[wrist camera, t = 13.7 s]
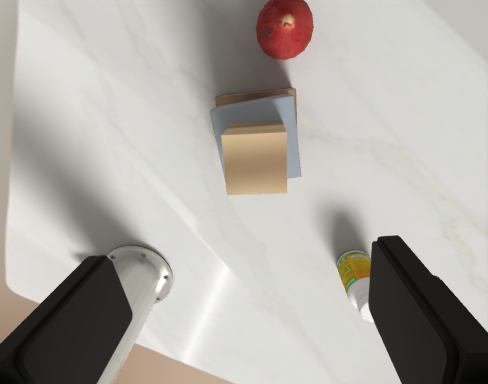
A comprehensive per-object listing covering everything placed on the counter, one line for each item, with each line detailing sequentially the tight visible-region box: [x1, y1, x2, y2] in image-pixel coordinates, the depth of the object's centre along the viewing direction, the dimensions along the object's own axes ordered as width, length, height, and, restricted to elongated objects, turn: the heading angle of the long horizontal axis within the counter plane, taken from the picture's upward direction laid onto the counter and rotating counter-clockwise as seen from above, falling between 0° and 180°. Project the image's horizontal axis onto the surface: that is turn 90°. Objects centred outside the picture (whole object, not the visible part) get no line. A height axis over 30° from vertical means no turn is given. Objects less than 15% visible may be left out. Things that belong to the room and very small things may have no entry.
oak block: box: [221, 121, 287, 195], centre depth 24 cm, size 5×5×6 cm
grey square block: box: [210, 93, 301, 182], centre depth 29 cm, size 8×8×5 cm
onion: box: [256, 0, 313, 60], centre depth 27 cm, size 6×6×8 cm
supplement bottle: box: [337, 250, 374, 322], centre depth 38 cm, size 5×5×10 cm
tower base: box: [215, 88, 297, 128], centre depth 33 cm, size 9×9×5 cm
